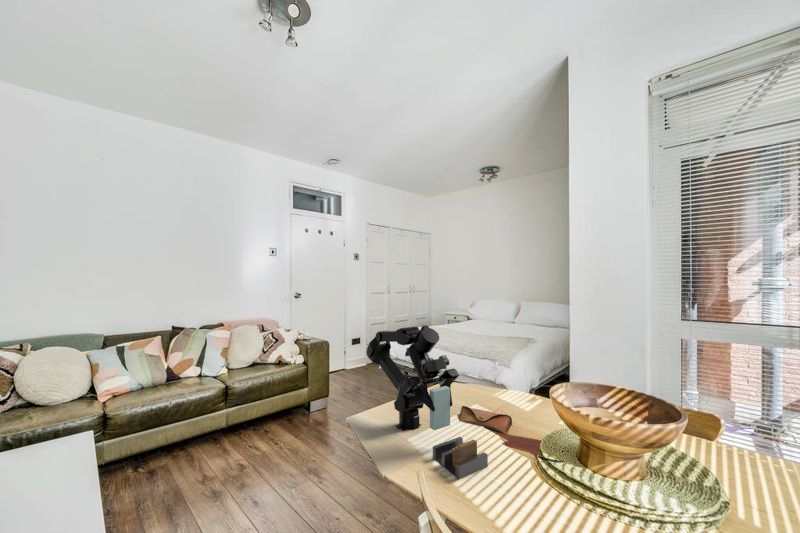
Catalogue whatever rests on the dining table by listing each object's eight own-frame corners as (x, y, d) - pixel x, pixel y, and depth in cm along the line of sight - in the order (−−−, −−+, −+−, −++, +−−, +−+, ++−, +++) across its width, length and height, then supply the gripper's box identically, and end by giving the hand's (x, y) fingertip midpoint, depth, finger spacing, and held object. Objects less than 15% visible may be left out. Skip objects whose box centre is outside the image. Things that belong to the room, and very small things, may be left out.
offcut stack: (452, 465, 85) (451, 441, 85) (467, 459, 88) (467, 435, 88) (461, 473, 82) (460, 447, 82) (477, 466, 85) (476, 441, 85)
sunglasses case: (454, 423, 111) (457, 402, 114) (459, 426, 116) (462, 406, 119) (508, 435, 102) (509, 412, 105) (511, 437, 108) (512, 416, 111)
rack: (432, 460, 89) (432, 446, 89) (460, 450, 94) (459, 436, 94) (458, 482, 79) (458, 466, 80) (487, 469, 85) (487, 454, 85)
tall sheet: (429, 427, 93) (429, 389, 93) (445, 422, 96) (445, 385, 96) (433, 430, 92) (433, 392, 92) (450, 425, 95) (450, 387, 95)
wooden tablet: (563, 447, 96) (563, 442, 96) (564, 465, 87) (564, 459, 87) (474, 429, 107) (474, 424, 107) (467, 444, 98) (467, 438, 98)
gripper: (405, 350, 93) (428, 402, 83) (455, 343, 102) (480, 388, 93) (392, 370, 99) (411, 420, 90) (440, 361, 109) (462, 406, 100)
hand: (442, 408), depth 93 cm, fingers closed on tall sheet, 6 cm apart
